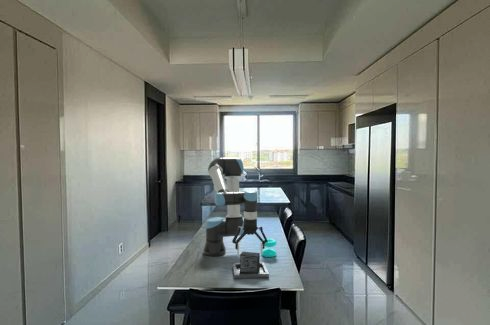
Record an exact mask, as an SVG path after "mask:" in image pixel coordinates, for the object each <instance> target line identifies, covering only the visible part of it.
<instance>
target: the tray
mask: <svg viewBox="0 0 490 325" xmlns="http://www.w3.org/2000/svg"><path fill="white" fill-rule="evenodd" d="M232 272H233V278H234V280H251V279H252V280H253V279H269V278H270V273H269V271H268V268H267V266H266V264H265V261H264V262H262V261H261V262H260V271H259V272H258V273H240V262H238V263H237V262H234V263H232Z"/></svg>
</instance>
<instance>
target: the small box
mask: <svg viewBox="0 0 490 325" xmlns="http://www.w3.org/2000/svg"><path fill="white" fill-rule="evenodd" d="M260 255H261V252H251V251H242V252H241V253H239V263H240V273H258V272H259V271H260V263H261V262H260V261H261V259H260Z"/></svg>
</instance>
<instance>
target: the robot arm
mask: <svg viewBox="0 0 490 325" xmlns="http://www.w3.org/2000/svg"><path fill="white" fill-rule="evenodd" d="M207 167H208V168H207V173H208V175H209V176H210V178H211V180H212V183H213V186H214V190H215V192H216V193H214V204H215V205H216V206H222V207H223V206H226V207H227V214H226V216H225V219H224V218H223V217H221V216H218V217H216V216H215V217H210V218H208V219H207V220H206V222H205V242H204V246H203V250H202V251H203V252H202V253H203V254H204V255H205V256H208V257H219V256H223V255H225V254H226V253H227V251H226V246H225V242H224V238H228V237H229V238H230V237H233V238H232V241H231V242H232V244H234V245H235V246H234V247H235V250H236V252H237V253H236V254H237V257H238V256H239V257H240V244H239V243H240V242H241V240H243V238H244V237H245V236H248V235H250V236H251V235H252V236H253V235H255V236H256V237H257V238H258V239H259V241H260V255H261V256H263V250H264V249H266V248H265V247H266V246H265V243H267V242H268V241H267V239H268V238H267V237H266V235H265V233H264V231H263V230H264V229H263V226H262V225H259V226H258V219H257V218H258V199H259V198H258V192H257V191H255V190H241V191H240V179H241V177H242V175H243V174H244V170H245V168H244V163H243V161H242V159H241V158H240V157H216V158H214V159H213V160H212V161H211V162H210V163H209V165H208V166H207ZM241 205H243V215H242V213H241ZM257 230H258V231H260V234H261V235H262V236H261V235H259V233H258V232H257ZM262 237H263V238H262ZM264 239H265V240H264Z"/></svg>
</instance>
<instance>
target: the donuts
mask: <svg viewBox="0 0 490 325" xmlns="http://www.w3.org/2000/svg"><path fill="white" fill-rule="evenodd" d="M263 240H265V239H264V238H263ZM267 241H268V242H267V243H265V247H266V248H264V249H263V255H262V256H263V257H266V258H274V257H275V256H276V255H277V251H276V250H275V249H273V248H272V247H275V246H277V241H276V239H273V238H267Z"/></svg>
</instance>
